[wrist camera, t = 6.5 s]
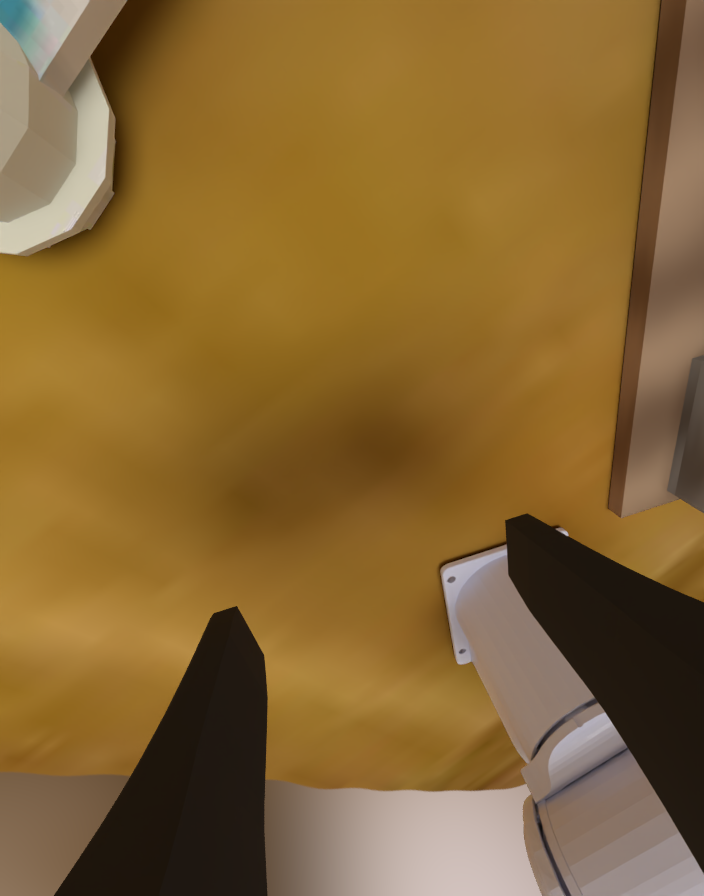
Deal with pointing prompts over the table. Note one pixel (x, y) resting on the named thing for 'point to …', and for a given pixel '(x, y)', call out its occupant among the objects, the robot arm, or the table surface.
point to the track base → (667, 287)
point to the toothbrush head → (53, 121)
